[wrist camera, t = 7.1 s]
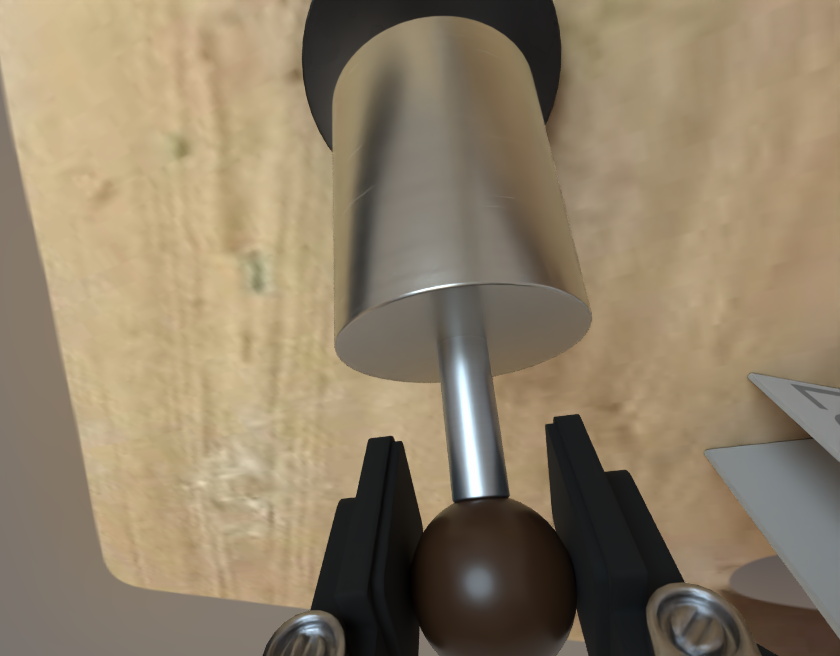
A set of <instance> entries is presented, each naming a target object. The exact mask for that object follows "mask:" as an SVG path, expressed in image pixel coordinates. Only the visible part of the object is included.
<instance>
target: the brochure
mask: <svg viewBox="0 0 840 656" xmlns="http://www.w3.org/2000/svg"><path fill="white" fill-rule="evenodd" d="M748 378H749V379H750V380H751V381H752V382H753V383H754V384H755V385H756V386H757V387H758V388H760V389H761V390H762V391H763V392H764V393H765V394H766V395H767V396H768V397H769V398H770V399H771V400H773V401H774V402H775V403H776V404H777V405H778V406H779V407H780V408H781V409H782V410H783V411H785V412H786V413H787V414H788V415H789V416H790V417H791V418H792V419H793V420H794V421H795V422H796V423H798V424H799V425H800V426H801V427H802V428H803V429H804V430H805V431H806V432H807V433H808V434H809V435H811V436H812V437H813V438H814V439H804V440H795V441H785V442H776V443H766V444H756V445H747V446H737V447H728V448H718V449H709V450H706V451H705V453H704V455H705V456H706V457H707V459H708V460H709V461H710V463H711V464H712V466H713V467H714V468H715V470H716V471H717V472H718V474H719V475H720V476H721V478H722V479H723V481H724V482H725V483H726V485H727V486H728V487H729V489H730V490H731V491H732V493H733V494H734V496H735V497H736V498H737V500H738V501H739V502H740V504H741V505H742V506H743V508H744V509H745V511H746V512H747V513H748V515H749V516H750V517H751V519H752V520H753V521H754V523H755V524H756V526H757V527H758V528H759V530H760V531H761V532H762V534H763V535H764V536H765V538H766V539H767V541H768V542H769V543H770V545H771V546H772V547H773V549H774V550H775V552H776V553H777V554H778V556H779V557H780V558H781V560H782V561H783V562H784V564H785V565H786V567H787V568H788V569H789V571H790V572H791V573H792V575H793V576H794V577H795V579H796V580H797V581H798V583H799V584H800V585H801V587H802V588H803V589H804V591H805V592H806V594H807V595H808V597H809V598H810V599H811V601H812V602H813V603H814V605H815V606H816V607H817V609H818V610H819V612H820V613H821V614H822V616H823V617H824V618H825V620H826V621H827V622H828V624H829V625H830V627H831V628H832V629H833V631H834V632H835V633H836V635H837V636H838V637H839V639H840V389H837V388H831V387H826V386H820V385H815V384H809V383H804V382H798V381H793V380H787V379H782V378H776V377H771V376H765V375H759V374H754V373H750V374H749V376H748Z"/></svg>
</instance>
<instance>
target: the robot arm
mask: <svg viewBox="0 0 840 656" xmlns="http://www.w3.org/2000/svg"><path fill="white" fill-rule="evenodd" d="M545 430H546V443H547V455H548V468H549V480H550V493H551V506H552V515H553V520H554V525H555V529H556V533H557V534H558V536H559V537H560V539H561V540H562V542H563V544H564V546H565V548H566V549H567V551H568V554H569V556H570V559H571V562H572V565H573V569H574V573H575V578H576V586H577V605H576V609H577V613H578V617H579V621H580V624H581V628H582V632H583V636H584V640H585V643H586V647H587V651H588V655H589V656H777V655H776V654H774V653H772V652H771V651H769V650H767V649H765V648H764V647H762V646H760V645H759V644H757V643H756V642H755V639H754V637H753V635H752V633H751V630H750V628H749V626H748V625H747V623H746V621H745V620H744V618H743V617H742V615H741V613H740V612H739V611H738V610H737V609H736V608H735V607H734V606H733V605H732V604H731V603H730V602H729V601H728V600H726V599H725V598H723V597H722V596H720V595H719V594H717V593H716V592H714V591H712V590H710V589H707V588H704V587H702V586H699V585H696V584H690V583H685V582H684V580H683V578H682V576H681V574H680V572H679V570H678V568H677V566H676V564H675V562H674V560H673V558H672V556H671V554H670V552H669V550H668V548H667V546H666V544H665V542H664V540H663V538H662V536H661V534H660V532H659V530H658V528H657V526H656V524H655V522H654V520H653V518H652V516H651V514H650V512H649V510H648V508H647V506H646V504H645V502H644V500H643V498H642V496H641V494H640V492H639V490H638V488H637V486H636V484H635V482H634V480H633V478H632V476H631V475H630V473H629V472H628V471H627V470H619V471H609V472H604V470H603V468H602V465H601V463H600V461H599V459H598V456H597V454H596V452H595V449H594V447H593V445H592V442H591V440H590V438H589V435H588V433H587V431H586V429H585V426H584V424H583V422H582V419H581V417H580V415H579V414H575V415H566V416H557V417H554V419H553V424H546V425H545ZM422 534H423V526H422V521H421V516H420V512H419V508H418V504H417V500H416V496H415V491H414V487H413V483H412V479H411V475H410V470H409V466H408V462H407V458H406V454H405V450H404V446H403V443H402V441H397V442H395V440H394V438H393V436H386V437H377V438H370V439H369V440H368V443H367V448H366V453H365V457H364V462H363V466H362V471H361V476H360V480H359V485H358V490H357V494H356V497H355V498H346V499H341V500H340V501H339V503H338V506H337V509H336V513H335V517H334V521H333V524H332V528H331V532H330V536H329V540H328V544H327V548H326V552H325V555H324V559H323V563H322V567H321V571H320V575H319V579H318V583H317V586H316V590H315V594H314V598H313V602H312V606H311V610H310V611H306V612H303V613H300V614H297V615H295V616H294V617H292V618H291V619H289V620H287V621H286V622H284V623H283V624H282V625H281V627H280V628H278V630H277V631H276V632H275V633H274V634H273V636H272V637H271V639H270V640H269V642H268V643H267V645H266V648H265V651H264V654H263V656H418V649H419V627H420V626H419V623H418V621H417V618H416V615H415V612H414V608H413V604H412V598H411V590H410V574H411V565H412V560H413V556H414V552H415V550H416V547H417V544H418V542H419V540H420V538H421V536H422Z"/></svg>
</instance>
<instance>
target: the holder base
mask: <svg viewBox="0 0 840 656" xmlns="http://www.w3.org/2000/svg"><path fill="white" fill-rule="evenodd" d="M430 16H454V17H463V18H467V19H471V20H475V21H479V22H481V23H483V24H486V25H488V26H490V27H493V28H494V29H496V30H497V31H499V32H501V33H502V34H504V35H505V36H506V37H507V38H509V39H510V40H511V41H512V42H513V43H514V44H515V45H516V46H517V47H518V49H519V50H520V51H521V52H522V54H523V55H524V57H525V59H526V61H527V62H528V64H529V67H530V70H531V73H532V76H533V80H534V84H535V88H536V92H537V96H538V100H539V104H540V108H541V112H542V116H543V120H544V124H545V125H546V123H547V121H548V118H549V116H550V113H551V110H552V108H553V105H554V101H555V98H556V94H557V90H558V85H559V78H560V71H561V39H560V29H559V24H558V19H557V15H556V10H555V7H554V4H553V1H552V0H312V2H311V5H310V9H309V12H308V16H307V19H306V24H305V30H304V36H303V47H302V68H303V80H304V86H305V91H306V96H307V100H308V103H309V107H310V110H311V113H312V116H313V118H314V121H315V123H316V125H317V127H318V130H319V132H320V134H321V135H322V137H323V139H324V140H325V142H326V144H327V145H328V147H329V148H330V150H331V151H332V152H333V134H332V101H333V95H334V90H335V87H336V84H337V81H338V79H339V77H340V75H341V73H342V71H343V69H344V67H345V66H346V64H347V63H348V62H349V60H350V59H351V57H352V56H353V55H354V54H355V53H356V52H357V51H358V50H359V49H360V48H361V47H362V46H363V45H364V44H365V43H367V42H368V41H369V40H370V39H372V38H373V37H374V36H376V35H378V34H380V33H381V32H383V31H385V30H386V29H388V28H391V27H393V26H395V25H398V24H400V23H403V22H406V21H410V20H413V19H417V18H423V17H430Z"/></svg>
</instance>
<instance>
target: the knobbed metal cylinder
mask: <svg viewBox="0 0 840 656" xmlns="http://www.w3.org/2000/svg"><path fill="white" fill-rule="evenodd" d="M332 134H333V242H334V348H335V351H336V354H337V356H338V357H339V358H340V360H341V361H342V362H343V363H345V364H346V365H347V366H349V367H350V368H352V369H354V370H356V371H358V372H361V373H363V374H366V375H369V376H373V377H377V378H381V379H387V380H393V381H401V382H414V383H441V392H442V402H443V412H444V422H445V431H446V441H447V451H448V461H449V471H450V481H451V490H452V500H453V502H454V504H452V505H450V506H449V507H447V508H446V509H444V510H443V511H442V512H441V513H439V514H438V515H437V516H436V517H435V518H434V519H433V520H432V521H431V523H430V524H429V525H428V526H427V528H426V529H425V531H424V532H423V534H422V536H421V538H420V540H419V542H418V544H417V547H416V550H415V552H414V556H413V560H412V565H411V574H410V590H411V598H412V604H413V608H414V612H415V615H416V618H417V621H418V623H419V626H420V628H421V630H422V632H423V634H424V636H425V637H426V639H427V640H428V642H429V643H430V645H431V646H432V648H433V649H434V650H435V651H436V652H437V653H438V655H439V656H556V655H557V653H558V652H559V651H560V650H561V648H562V647H563V645H564V643H565V641H566V640H567V638H568V636H569V633H570V631H571V628H572V626H573V622H574V617H575V613H576V605H577V586H576V578H575V573H574V569H573V565H572V562H571V559H570V556H569V554H568V551H567V549H566V548H565V546H564V544H563V542H562V540H561V539H560V537H559V536H558V534H557V533H556V531H555V530H554V529H553V528H552V526H551V525H550V524H549V523H548V522H547V521H546V520H545V519H544V518H543V517H542V516H541V515H539V514H538V513H537V512H535V511H534V510H533V509H531V508H530V507H528V506H526V505H524V504H522V503H520V502H518V501H515V500H513V499H510V498H509V496H510V493H509V486H508V480H507V473H506V466H505V459H504V452H503V446H502V439H501V432H500V425H499V419H498V412H497V405H496V398H495V392H494V385H493V378H492V377H494V376H499V375H503V374H507V373H511V372H515V371H519V370H522V369H525V368H528V367H531V366H534V365H537V364H540V363H542V362H545V361H547V360H549V359H551V358H554V357H556V356H558V355H560V354H561V353H563V352H565V351H567V350H568V349H570V348H571V347H573V346H574V345H575V344H577V343H578V342H579V341H580V340H581V339H582V338H583V337H584V336H585V335H586V333H587V332H588V330H589V328H590V326H591V322H592V313H591V309H590V305H589V301H588V297H587V293H586V289H585V285H584V281H583V277H582V273H581V269H580V265H579V261H578V257H577V253H576V249H575V245H574V241H573V237H572V233H571V229H570V224H569V220H568V216H567V212H566V208H565V204H564V200H563V196H562V192H561V188H560V184H559V180H558V176H557V172H556V168H555V164H554V160H553V156H552V152H551V148H550V144H549V140H548V136H547V132H546V128H545V124H544V120H543V116H542V112H541V108H540V104H539V100H538V96H537V92H536V88H535V84H534V80H533V76H532V73H531V70H530V67H529V64H528V62H527V61H526V59H525V57H524V55H523V54H522V52H521V51H520V50H519V49H518V47H517V46H516V45H515V44H514V43H513V42H512V41H511V40H510V39H509V38H507V37H506V36H505V35H504V34H502V33H501V32H499V31H497V30H496V29H494V28H493V27H490V26H488V25H486V24H483V23H481V22H479V21H475V20H471V19H467V18H463V17H454V16H430V17H423V18H417V19H413V20H410V21H406V22H403V23H400V24H398V25H395V26H393V27H391V28H388V29H386V30H385V31H383V32H381V33H380V34H378V35H376V36H374V37H373V38H372V39H370V40H369V41H368V42H367V43H365V44H364V45H363V46H362V47H361V48H360V49H359V50H358V51H357V52H356V53H355V54H354V55H353V56H352V57H351V59H350V60H349V62H348V63H347V64H346V66H345V67H344V69H343V71H342V73H341V75H340V77H339V79H338V81H337V84H336V87H335V90H334V95H333V101H332Z"/></svg>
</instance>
